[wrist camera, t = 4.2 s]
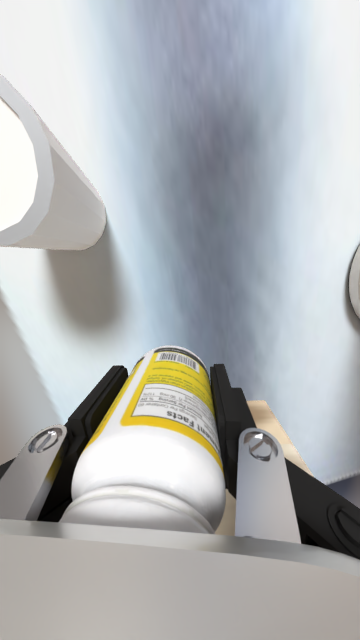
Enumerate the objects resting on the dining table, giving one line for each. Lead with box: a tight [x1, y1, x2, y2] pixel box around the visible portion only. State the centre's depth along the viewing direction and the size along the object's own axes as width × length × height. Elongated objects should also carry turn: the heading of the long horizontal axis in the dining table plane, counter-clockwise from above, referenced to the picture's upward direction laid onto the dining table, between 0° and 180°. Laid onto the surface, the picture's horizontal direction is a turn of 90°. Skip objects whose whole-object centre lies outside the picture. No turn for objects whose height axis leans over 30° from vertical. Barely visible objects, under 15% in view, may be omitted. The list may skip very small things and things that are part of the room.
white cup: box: [0, 74, 106, 250], centre depth 11 cm, size 7×7×7 cm
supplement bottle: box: [58, 345, 226, 534], centre depth 7 cm, size 5×5×8 cm
